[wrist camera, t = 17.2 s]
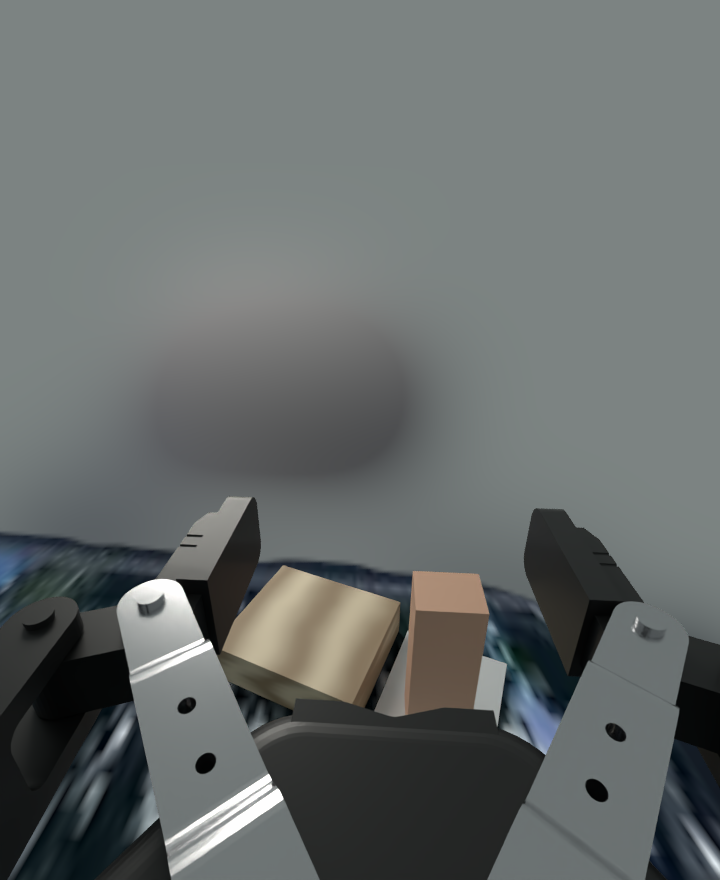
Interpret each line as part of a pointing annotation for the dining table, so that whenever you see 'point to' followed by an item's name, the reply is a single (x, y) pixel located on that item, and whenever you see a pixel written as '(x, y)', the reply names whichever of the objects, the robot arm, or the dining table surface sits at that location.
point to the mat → (485, 694)
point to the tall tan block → (444, 641)
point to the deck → (310, 640)
